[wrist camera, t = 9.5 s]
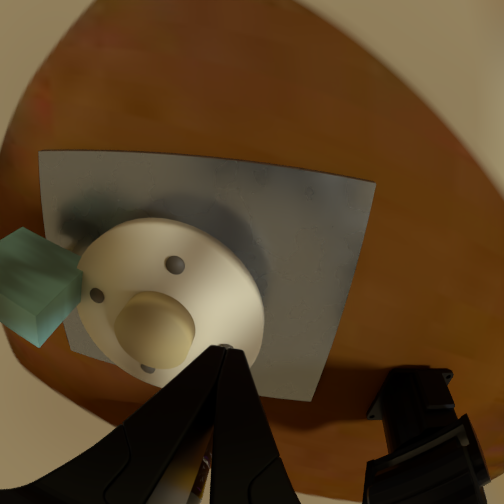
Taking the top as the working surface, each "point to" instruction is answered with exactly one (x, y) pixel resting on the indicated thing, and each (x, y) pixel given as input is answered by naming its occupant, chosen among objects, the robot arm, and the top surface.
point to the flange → (135, 294)
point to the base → (227, 238)
